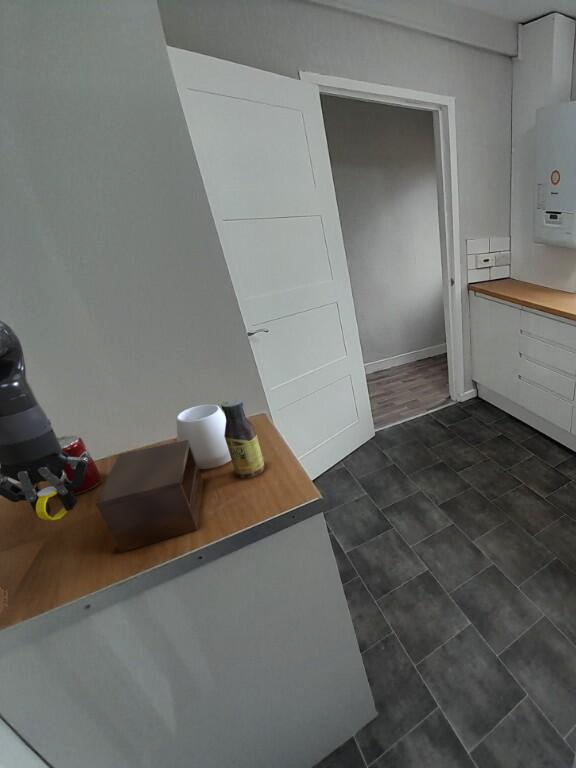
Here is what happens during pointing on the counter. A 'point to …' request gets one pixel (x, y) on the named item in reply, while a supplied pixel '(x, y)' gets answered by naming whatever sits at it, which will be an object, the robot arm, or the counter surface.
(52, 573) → the counter surface
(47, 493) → the watch
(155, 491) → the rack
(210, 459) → the cup
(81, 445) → the soda can
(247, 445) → the sauce bottle
